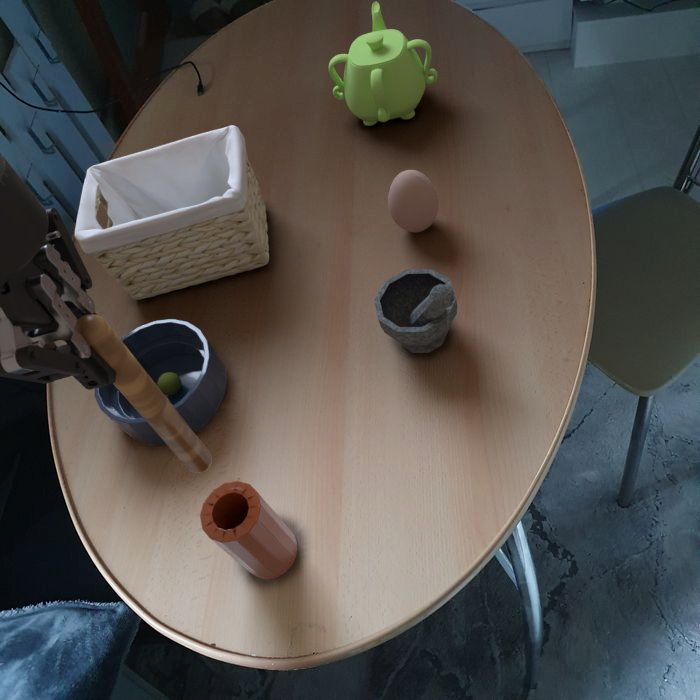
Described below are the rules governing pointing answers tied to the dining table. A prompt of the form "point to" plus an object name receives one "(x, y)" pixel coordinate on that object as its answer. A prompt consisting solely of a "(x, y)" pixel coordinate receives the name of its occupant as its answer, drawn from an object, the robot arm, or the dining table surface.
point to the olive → (169, 383)
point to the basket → (175, 214)
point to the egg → (413, 201)
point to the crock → (248, 530)
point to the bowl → (177, 357)
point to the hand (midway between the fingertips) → (104, 365)
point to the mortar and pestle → (417, 309)
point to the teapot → (383, 74)
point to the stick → (145, 393)
